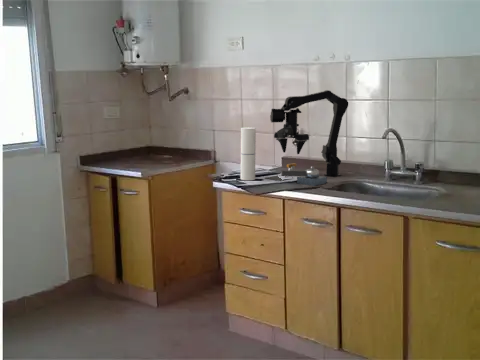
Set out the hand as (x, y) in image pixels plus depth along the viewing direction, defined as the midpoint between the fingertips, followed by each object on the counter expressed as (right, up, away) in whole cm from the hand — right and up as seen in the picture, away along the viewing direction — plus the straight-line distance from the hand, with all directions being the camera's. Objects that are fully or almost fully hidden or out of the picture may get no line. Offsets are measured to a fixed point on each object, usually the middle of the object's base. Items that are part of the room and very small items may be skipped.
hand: (291, 153), depth 288 cm
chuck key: (0, -11, +4) cm, 12 cm away
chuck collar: (+3, -12, -17) cm, 21 cm away
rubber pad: (-6, -13, -4) cm, 15 cm away
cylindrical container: (-22, -13, -6) cm, 26 cm away
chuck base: (+8, -15, -16) cm, 24 cm away
